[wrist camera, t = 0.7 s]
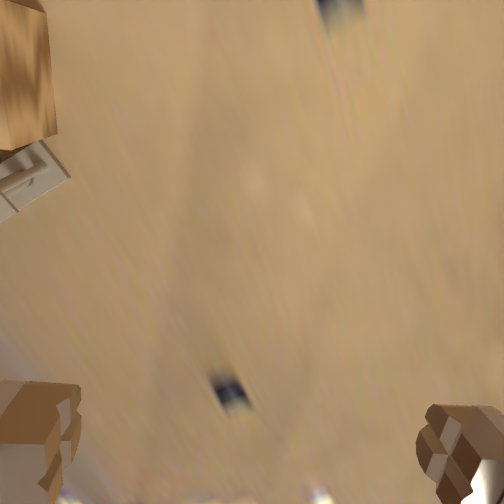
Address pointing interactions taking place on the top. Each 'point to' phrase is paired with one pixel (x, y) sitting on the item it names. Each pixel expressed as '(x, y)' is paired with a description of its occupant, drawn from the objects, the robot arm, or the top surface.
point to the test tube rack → (28, 177)
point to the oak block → (25, 77)
